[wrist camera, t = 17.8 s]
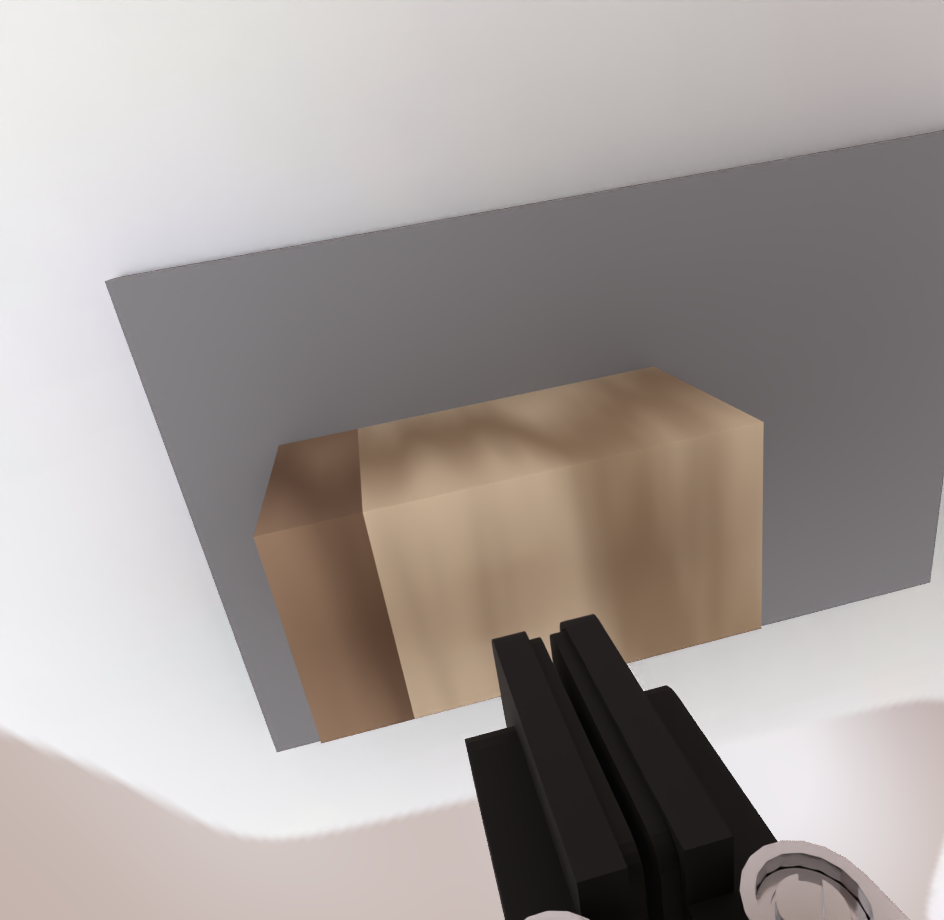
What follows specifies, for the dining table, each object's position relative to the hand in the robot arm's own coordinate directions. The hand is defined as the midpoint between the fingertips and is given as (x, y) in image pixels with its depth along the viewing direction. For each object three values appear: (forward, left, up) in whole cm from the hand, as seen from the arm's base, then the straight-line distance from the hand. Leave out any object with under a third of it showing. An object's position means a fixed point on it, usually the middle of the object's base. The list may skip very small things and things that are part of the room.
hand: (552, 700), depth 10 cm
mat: (-4, 0, -9) cm, 10 cm away
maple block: (-6, 0, -6) cm, 8 cm away
